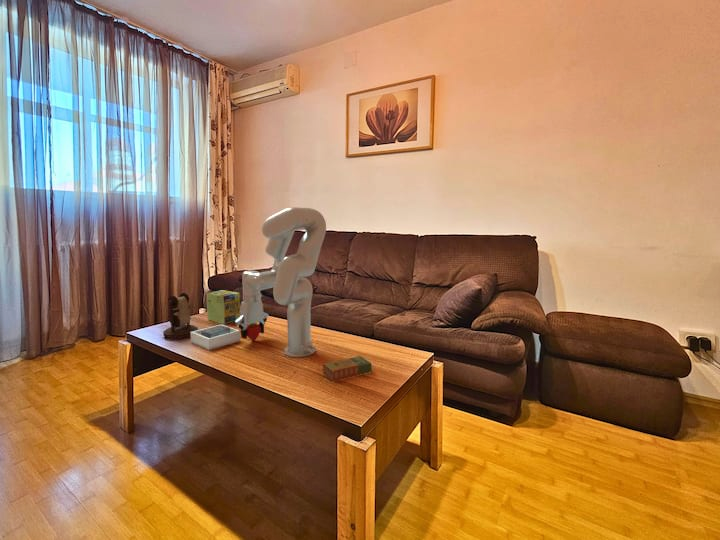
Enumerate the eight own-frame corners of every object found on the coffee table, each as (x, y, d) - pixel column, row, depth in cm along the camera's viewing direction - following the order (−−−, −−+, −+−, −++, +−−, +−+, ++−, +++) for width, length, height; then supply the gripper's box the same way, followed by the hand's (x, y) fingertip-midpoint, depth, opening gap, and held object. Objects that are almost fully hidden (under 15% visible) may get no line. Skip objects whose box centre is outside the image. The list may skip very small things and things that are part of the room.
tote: (240, 341, 158) (239, 330, 157) (209, 350, 146) (208, 339, 145) (221, 334, 167) (221, 324, 166) (191, 342, 155) (190, 332, 154)
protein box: (224, 324, 182) (223, 296, 180) (207, 320, 191) (205, 292, 188) (241, 320, 191) (240, 292, 189) (223, 315, 199) (222, 289, 197)
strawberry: (242, 342, 156) (241, 321, 155) (254, 337, 162) (254, 317, 161) (251, 345, 153) (250, 323, 152) (264, 340, 160) (263, 319, 158)
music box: (182, 341, 156) (179, 298, 153) (156, 338, 160) (152, 296, 157) (205, 332, 170) (202, 292, 167) (180, 329, 174) (177, 290, 171)
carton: (322, 374, 126) (322, 362, 125) (360, 365, 134) (360, 354, 133) (332, 383, 119) (332, 371, 118) (372, 373, 127) (372, 362, 126)
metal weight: (230, 337, 159) (229, 327, 158) (211, 344, 150) (210, 333, 150) (220, 335, 162) (220, 325, 161) (201, 341, 154) (201, 330, 153)
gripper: (262, 294, 164) (263, 329, 167) (229, 300, 150) (231, 338, 153) (272, 296, 160) (273, 332, 162) (239, 303, 146) (241, 342, 148)
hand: (252, 335), depth 157 cm, fingers open, 8 cm apart
